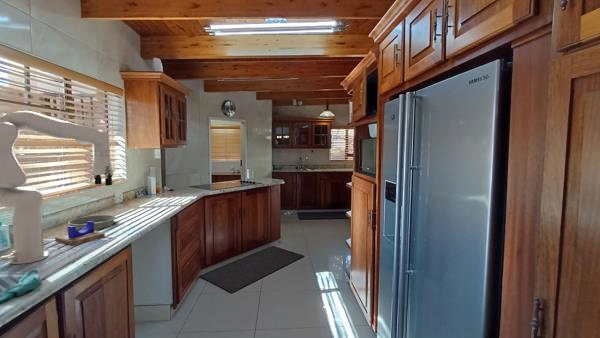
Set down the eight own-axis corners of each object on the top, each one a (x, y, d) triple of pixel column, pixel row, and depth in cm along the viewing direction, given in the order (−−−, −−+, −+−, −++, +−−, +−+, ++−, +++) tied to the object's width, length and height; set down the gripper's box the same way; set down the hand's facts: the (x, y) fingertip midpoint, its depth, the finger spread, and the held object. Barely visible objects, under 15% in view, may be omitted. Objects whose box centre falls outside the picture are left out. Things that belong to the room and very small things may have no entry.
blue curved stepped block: (88, 231, 167) (87, 220, 167) (94, 232, 166) (93, 221, 166) (66, 237, 156) (65, 226, 155) (72, 238, 155) (72, 227, 154)
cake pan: (76, 234, 170) (75, 226, 170) (62, 227, 185) (62, 220, 185) (123, 225, 190) (122, 218, 189) (107, 219, 205) (106, 212, 204)
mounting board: (71, 245, 151) (71, 241, 150) (55, 240, 158) (55, 236, 158) (104, 236, 165) (104, 232, 165) (88, 232, 172) (88, 229, 172)
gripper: (85, 153, 164) (87, 184, 166) (103, 154, 156) (105, 186, 158) (99, 153, 171) (101, 183, 172) (118, 153, 163) (119, 184, 164)
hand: (103, 184), depth 165 cm, fingers open, 9 cm apart
